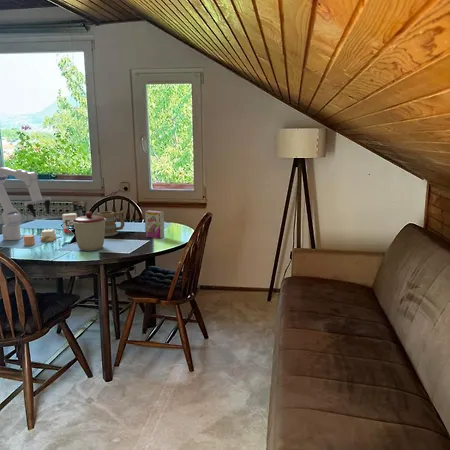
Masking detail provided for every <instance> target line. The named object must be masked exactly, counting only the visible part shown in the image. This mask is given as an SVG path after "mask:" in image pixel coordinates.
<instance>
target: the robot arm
mask: <svg viewBox="0 0 450 450" xmlns="http://www.w3.org/2000/svg"><path fill="white" fill-rule="evenodd" d="M9 176H12V177H14V178H15V179H16V180H20V181H23V182H24V183H25V185H26V187H27V190H28V193H29V196H30V199H31V200H30V201H26V202H23V204H24V207H26V209H28V210H29V211H30V213H31V214H32V215H33V217H34V218H36V217H37V214H36V212H35V208H34V205H36V204H41V203H43V205H44V207H45V210H46V213H47V214H48V215H49V214H51V213H50V205H51V201H52V199H51V198H52V197H50V196H49V197H43V196H42V193H41V191H40V187H39V184H38V179H39V176H38V174H37V173H36V171H31V172H30V171H29V170H23V169H22V168H18V169H16V170H15V169H12V168H9V167H6V166H2V167H0V205H1V208H2V209H3V211H2V213H1V214H0V215H1V218H2V223H3V225H2V228H1V234H2V241H20V240H21V239H22V238H24V236H23V235H22V234H21V233H22V232H21V225H20V224H21V223H22V221H23V215H22V214H21V213H20V212H19V210H18V209H16V208H15V207H14V206H13V204H12V202H11V199H10V197H9V195H8V193H7V190H6V188H5V186H4V183H5V182H6V180H7V179H8V177H9Z"/></svg>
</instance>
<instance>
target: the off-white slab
mask: <svg viewBox="0 0 450 450" xmlns="http://www.w3.org/2000/svg"><path fill="white" fill-rule="evenodd" d="M54 234H56V233H55V229H54V228H53V229H42V231H41V236H42V237H48V236H53V235H54Z"/></svg>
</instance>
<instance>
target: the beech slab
mask: <svg viewBox="0 0 450 450" xmlns="http://www.w3.org/2000/svg"><path fill="white" fill-rule="evenodd" d="M56 237H57V235H56V233H55V234H54V235H53V236H48V237H42V235H41V236H40V242H52V241H53V242H54V241H55V239H56Z"/></svg>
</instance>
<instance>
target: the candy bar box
mask: <svg viewBox="0 0 450 450" xmlns="http://www.w3.org/2000/svg"><path fill="white" fill-rule="evenodd" d="M144 223H145V224H144V226H145V230H144V231H145V238H150V239H157V240H158V239H159V240H162V239H164V238H165V213H164V211H158V210H146V211H144Z"/></svg>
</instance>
